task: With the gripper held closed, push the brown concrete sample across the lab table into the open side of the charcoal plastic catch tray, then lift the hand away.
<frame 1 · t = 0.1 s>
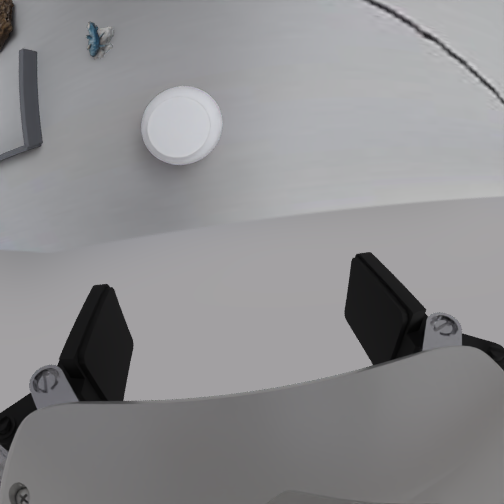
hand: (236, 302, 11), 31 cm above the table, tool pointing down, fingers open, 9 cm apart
sculpture: (104, 43, 29), on the table
pill bottle: (188, 122, 36), on the table
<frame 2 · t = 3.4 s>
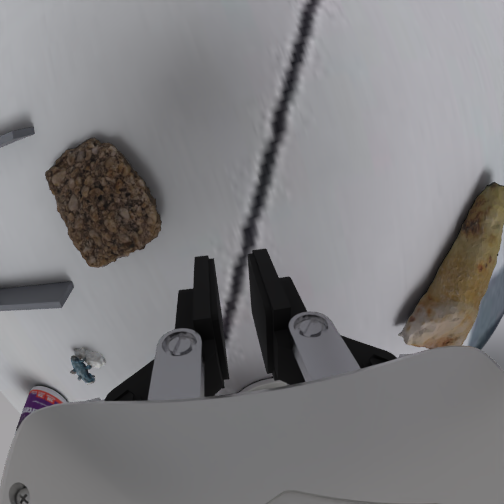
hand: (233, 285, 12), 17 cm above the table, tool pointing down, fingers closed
sculpture: (91, 352, 35), on the table
concrete sample: (108, 192, 26), on the table
mineral: (450, 256, 37), on the table
catch tray: (3, 223, 24), on the table
pill bottle: (51, 396, 38), on the table
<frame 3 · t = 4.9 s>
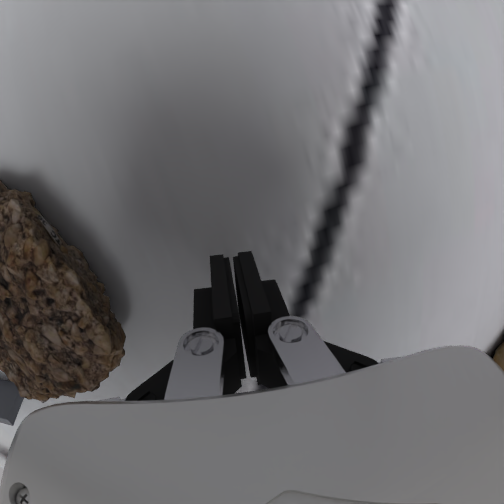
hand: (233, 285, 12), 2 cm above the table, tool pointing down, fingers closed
concrete sample: (37, 271, 13), on the table
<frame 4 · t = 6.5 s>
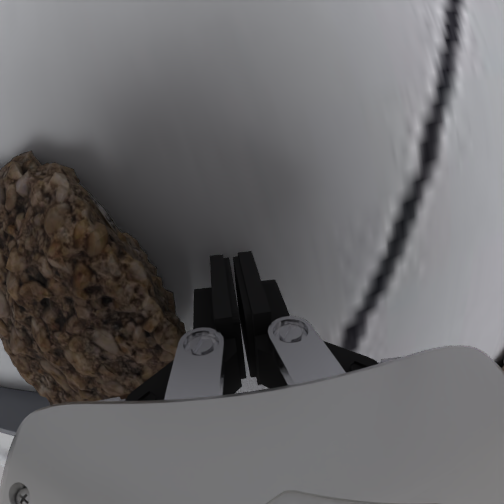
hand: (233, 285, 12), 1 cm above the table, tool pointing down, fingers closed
concrete sample: (73, 264, 12), on the table, touching gripper
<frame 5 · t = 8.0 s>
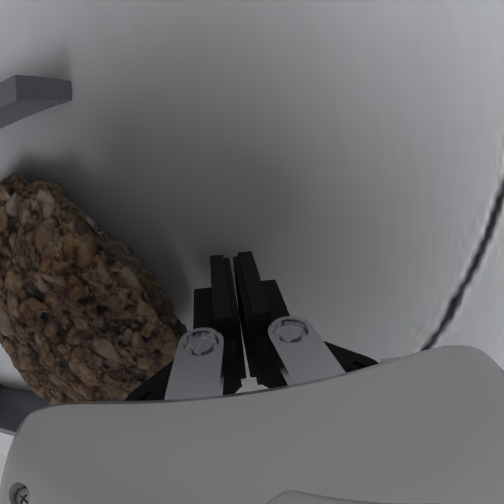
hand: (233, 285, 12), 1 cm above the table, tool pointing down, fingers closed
concrete sample: (73, 277, 12), on the table, touching gripper
catch tray: (5, 297, 12), on the table
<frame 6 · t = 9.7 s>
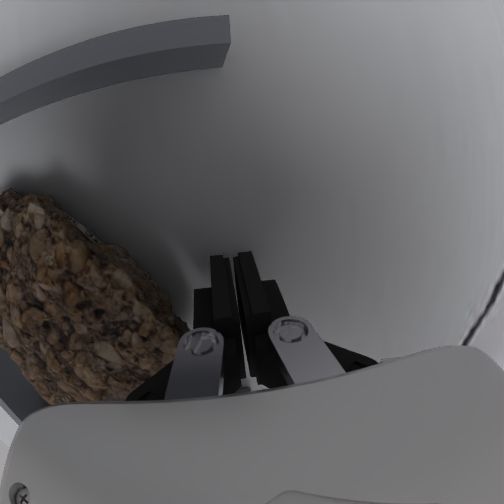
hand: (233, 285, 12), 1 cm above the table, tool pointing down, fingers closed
concrete sample: (75, 284, 13), on the table
catch tray: (84, 288, 12), on the table
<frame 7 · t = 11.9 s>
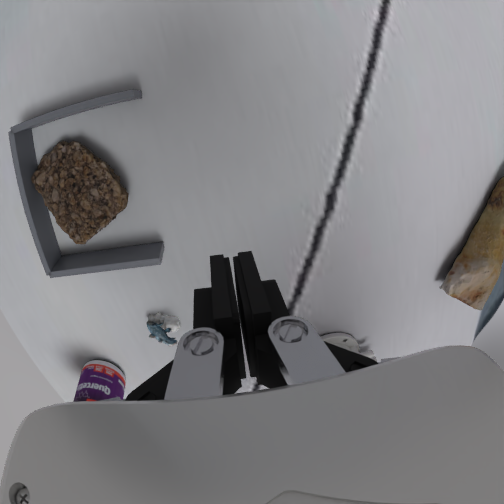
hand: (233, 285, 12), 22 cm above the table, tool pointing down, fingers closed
sculpture: (165, 317, 41), on the table
concrete sample: (84, 181, 30), on the table
mineral: (477, 226, 43), on the table
catch tray: (91, 183, 30), on the table
pill bottle: (104, 371, 44), on the table
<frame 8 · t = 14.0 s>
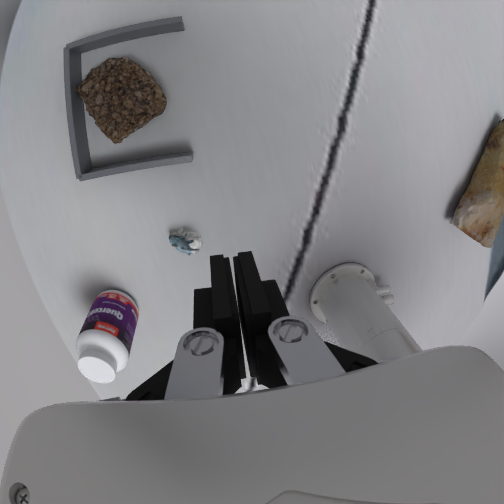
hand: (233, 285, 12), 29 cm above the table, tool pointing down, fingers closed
sculpture: (186, 235, 43), on the table
concrete sample: (124, 96, 32), on the table
mineral: (478, 170, 44), on the table
catch tray: (131, 98, 32), on the table
pill bottle: (117, 306, 46), on the table
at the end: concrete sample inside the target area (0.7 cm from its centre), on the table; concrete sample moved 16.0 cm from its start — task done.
